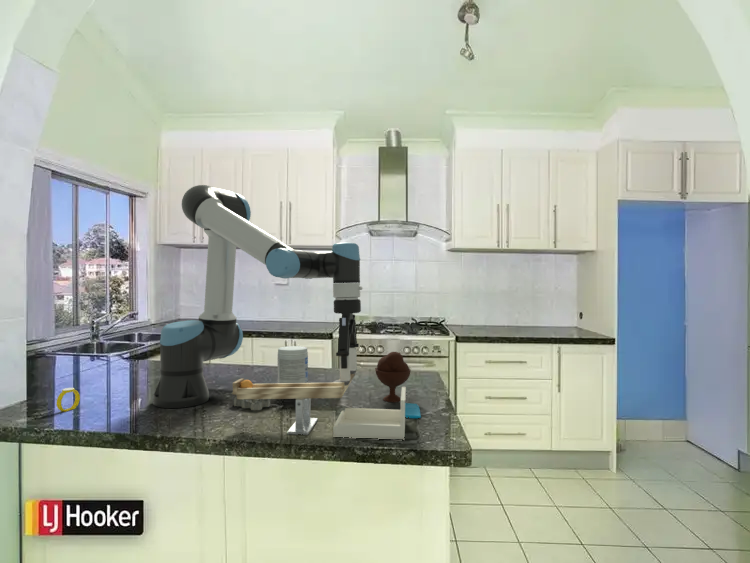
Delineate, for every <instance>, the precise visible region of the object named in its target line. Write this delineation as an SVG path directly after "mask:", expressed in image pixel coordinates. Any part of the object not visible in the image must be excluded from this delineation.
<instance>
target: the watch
mask: <svg viewBox="0 0 750 563" xmlns="http://www.w3.org/2000/svg"><path fill="white" fill-rule="evenodd" d="M68 393H73V394H74V397H75V399H74V402H73V404H72V405H71V406H70V407H69V408H65V409H64V408H63V405H62V400H63V398H64V396H65V395H66V394H68ZM80 399H81V396H80V393H79V391H78V390H76V389H75V388H74V387H65V388H62V390H61V392H59V394H58V396H57V398H56V407H57V409H58V410H59V411H60V412H63V413H64V412H66V413H67V412H69V411H71V410H75V409H76V408H77V407H78V405H79V403H80V401H81V400H80Z"/></svg>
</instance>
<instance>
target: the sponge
mask: <svg viewBox="0 0 750 563" xmlns="http://www.w3.org/2000/svg"><path fill="white" fill-rule="evenodd" d="M421 415H422V414H421V410H420V405H418V403H410V402H406V403H405V417H406V418H405V419H418V418H420V419H421V418H422V416H421ZM408 417H409V418H408Z"/></svg>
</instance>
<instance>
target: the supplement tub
mask: <svg viewBox="0 0 750 563" xmlns="http://www.w3.org/2000/svg"><path fill="white" fill-rule="evenodd" d="M308 357H309V352H308V347H307V346H303V345H301V346H300V345H290V346H289V345H288V346H287V345H286V346H282V347H278V348H277V383H309V368H308V367H309V358H308Z"/></svg>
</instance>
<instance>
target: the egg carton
mask: <svg viewBox="0 0 750 563" xmlns="http://www.w3.org/2000/svg"><path fill="white" fill-rule="evenodd" d="M230 394H231V395H232V396H233V406H234V407H235V406H237V407H241V409H250V411H260V410H262V409H263V408H269V407H271V399H237V394H233V391H232V392H231V393H230Z"/></svg>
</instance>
